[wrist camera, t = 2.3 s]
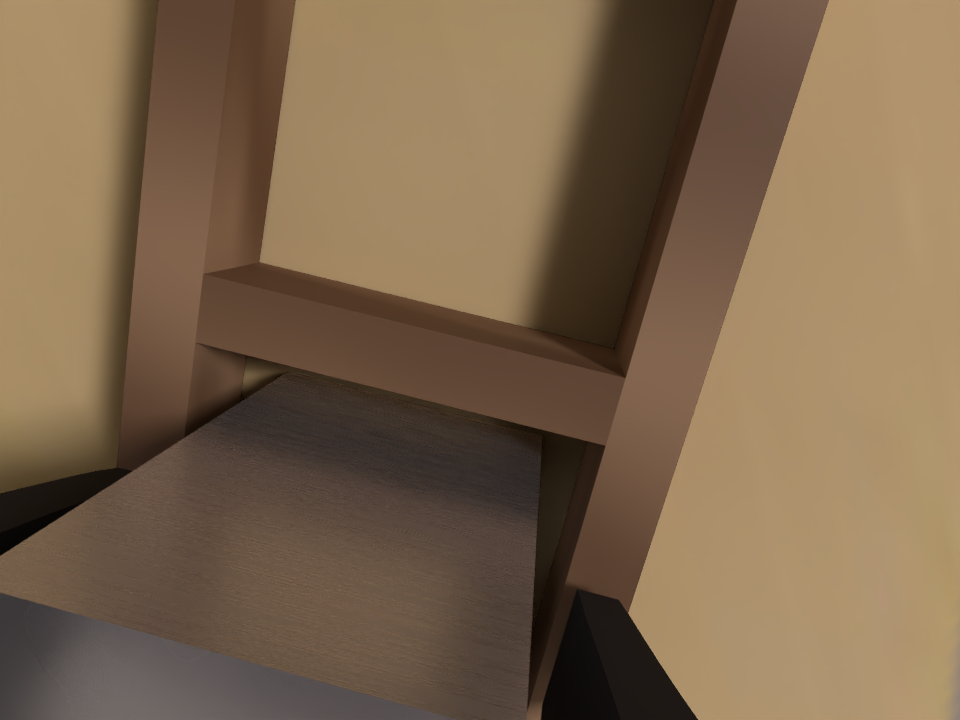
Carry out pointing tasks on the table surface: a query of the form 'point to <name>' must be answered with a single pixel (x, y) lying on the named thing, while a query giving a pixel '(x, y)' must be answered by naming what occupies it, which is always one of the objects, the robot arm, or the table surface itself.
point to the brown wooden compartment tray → (437, 330)
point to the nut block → (287, 572)
